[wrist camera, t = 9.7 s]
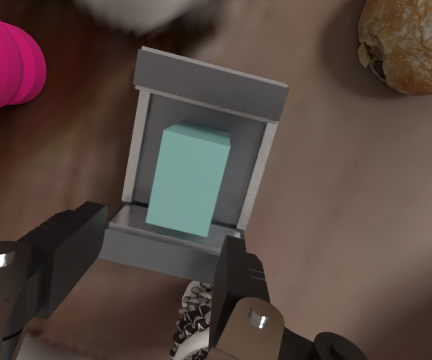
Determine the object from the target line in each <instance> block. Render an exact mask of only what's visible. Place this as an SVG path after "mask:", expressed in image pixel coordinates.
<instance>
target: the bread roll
mask: <svg viewBox="0 0 432 360" xmlns="http://www.w3.org/2000/svg"><path fill="white" fill-rule="evenodd" d="M358 33H359V42H360V43H361V45H360V47H359V48H358V50H357V54H358V57H359V61H360V63H361V64H362V65H363V66H364V68H366V67H368V66H369V67H371V69H372V71H373V72H374V73H375V74H376V75H377V76H378V77H379V78H380V79H381V80H382V81H384V82H385V83H386V84H387V85H388V87H390V88H393V89H395V90H397V91H398V92H401V93H404V94H408V95H419V96H420V95H431V94H432V0H367V1H366V4H365V6H364V8H363V11H362V13H361V16H360V20H359V24H358Z"/></svg>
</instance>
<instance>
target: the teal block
mask: <svg viewBox="0 0 432 360" xmlns="http://www.w3.org/2000/svg"><path fill="white" fill-rule="evenodd" d="M229 150H230V137H229V133H228V132H224V131H220V130H216V129H212V128H208V127H204V126H200V125H196V124H192V123H188V122H184V121H180V122H178V123H176V124H174V125H172V126H170V127H168V128H167V129H165V130H163V135H162V141H161V146H160V151H159V156H158V161H157V166H156V172H155V177H154V182H153V187H152V192H151V197H150V203H149V208H148V213H147V218H146V223H149V224H153V225H158V226H162V227H166V228H170V229H175V230H179V231H183V232H187V233H191V234H196V235H200V236H204V237H207V235H208V231H209V227H210V223H211V219H212V216H213V212H214V208H215V204H216V200H217V196H218V193H219V189H220V185H221V181H222V177H223V173H224V170H225V166H226V162H227V158H228V154H229Z"/></svg>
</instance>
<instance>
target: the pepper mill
mask: <svg viewBox="0 0 432 360" xmlns="http://www.w3.org/2000/svg"><path fill="white" fill-rule="evenodd" d="M46 71H47V70H46V63H45V59H44V56H43V54H42V51H41V49H40V47H39V46H38V44H37V43H36V42H35V41H34V39H33V38H32V37H31V36H30V35H29V34H27V33H26V32H25V31H23V30H22V29H20V28H18V27H16V26H13V25H10V24H7V23H4V22H1V21H0V108H1V107H3V106H5V105H15V104H23V103H26V102H29V101H31V100H32V99H34V98H35V97H36V96H37V95H38V94H39V93H40V92H41V90H42V88H43V86H44V84H45V81H46Z"/></svg>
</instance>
